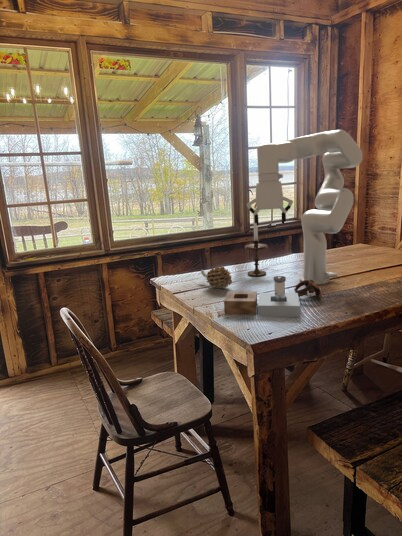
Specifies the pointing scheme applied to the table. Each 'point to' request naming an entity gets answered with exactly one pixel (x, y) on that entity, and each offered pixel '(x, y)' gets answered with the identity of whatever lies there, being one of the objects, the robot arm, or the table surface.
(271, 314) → the socket block
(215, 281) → the pine cone
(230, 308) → the mount block
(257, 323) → the table surface
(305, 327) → the table surface
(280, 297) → the lock pin
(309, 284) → the cracked clay ring
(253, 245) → the candlestick
